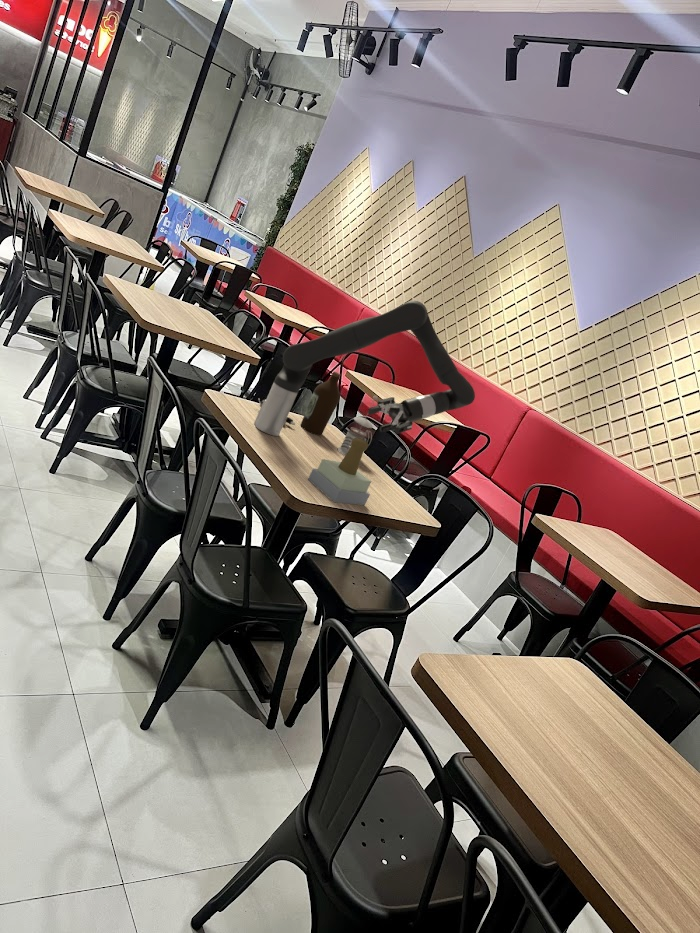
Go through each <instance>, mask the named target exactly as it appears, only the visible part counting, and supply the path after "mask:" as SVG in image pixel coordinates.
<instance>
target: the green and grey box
mask: <svg viewBox="0 0 700 933" xmlns="http://www.w3.org/2000/svg"><path fill="white" fill-rule="evenodd" d="M341 462H342V461H337V460H330V459H325V458H324V459H323V458H322V459H321V461H320V463H319V466H318V468H312V470H311V471H310V474H309V475H308V478H307V480H308V481H310V482H311V483H312V484H313V485H314V486H315V487H316V488H317V489H318V490H319V491H321V492H322V493H323V494H324V495H325V496H326V497H327V498H329V499H330V501H332V502H334V503H337V504H349V505H350V504H351V505H360V506H365V505H366V504H367V502H368V499H369V497H370V495H371V494H370V493H369V492H368V490H369V487H370V486H371V483H372V480H370V479H369V478H368V477H366V476H365V475H364V474H363V473H361V472H360V471H359V470H358V469H357V472H356V475H351V474H348V473H346V472H344V471H342V470H341V469H340V468H339V467H338V466H339V465H340V463H341Z"/></svg>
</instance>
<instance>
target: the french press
mask: <svg viewBox="0 0 700 933" xmlns="http://www.w3.org/2000/svg"><path fill="white" fill-rule="evenodd" d="M372 399H373V400H372V403H371V405H370V407H369V408H371V407H373V404H374V401H375V400H377V401H378V400H379V399H378V395H373V397H372ZM368 415H369V414H368V412H367V414H366V415H365V417H362V416H355V417H353V421H354V422H356V423H357V424H358V425H361V426H360V428H359V429H358V428H357V427H353V426H352V427H350V429H349V430H348V431H347V433H346V435H345V437H344V439H343V441H342V443H341V445H340V446H338V447H337V448H338V450H337V451H338V452H339V453H340V454H342V455H343V456H345V455H346V454H347V452H348V451H349V449H350V448H351V446H352V445H351V443H352V440H353V439H354V438H356V437H358V438H361V439H363V440H365V441H366V442H367V443H368V442H369V444H368V446H370V444H371V442H372V440H373V435H372V434H373V433H372V431H371V430H368V429H373V428H374V426H373V424H372V422H370V421H369V420H368V419H367V418H368ZM362 427H364V428H368V429H367V430H365V432H364V431H363V430H361V429H362ZM370 436H371V437H370ZM367 437H368V438H367ZM369 439H370V440H369Z"/></svg>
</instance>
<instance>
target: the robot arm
mask: <svg viewBox="0 0 700 933" xmlns="http://www.w3.org/2000/svg"><path fill="white" fill-rule="evenodd" d="M432 324H433V323H432V322H431V319H430V317H429V313H428V310H427V307H426V305H424V304H423V303H422V302H421V301H418V300H409V301H406V302H405V303H403V304H401V305H399V306H397V307H396V308H393V309H391V310H389V311H387V312H385V313H382V314H379V315H376V316H375V315H374V316H370V317H366V318H362V319H359V320H356V321H354V322H351V323H348V324H345V325H343V326H341V327H338V328H336V329H334V330H331V331H329V332H327V333H326V334H324V335H322V336H319V337H317V338H314V339H311V340H308V341H304V342H300V343H294V344H291V345H289V346H288V347H287V348H286V349H285V351H284V352H283V354H282V363H283V366H282V369H281V370H280V371H279V373H277V375H276V376H275V379H274V381H273V383H272V385H271V388H270V390H269V393H268V394H267V397H266V399H263V400H264V401H263V400H262V401H263V404H262V406H261V407H260V409H259V411H258V412H257V416H256V418H255V420H254V423H253V424H254V425H255V428H257V430H259V431H261V432H263V433H265V434H267V435H270V436H273V437H278V436H280V434H281V432H282V430H283V426H284V425H285V424H284V423H286V422H285V421H286V418H287V417H288V416H289V414H290V411H291V409H292V407H293V405H294V403H295V401H296V398H297V395H298V393H299V391H300V389H301V388H302V386H303V385H304V384H305V382H306V380H307V377H308V375H309V372H310V370H312V367H313V365H314V364H316V363H317V362H320V361H322V360H325V359H329V358H334V357H339V356H342V355H347V354H350V353H354V352H357V351H360V350H362V349H365V348H367V347H370V346H372V345H374V344H376V343H377V342H379V341H381V340H383V339H385V338H387V337H389V336H392V335H396V334H399V333H402V332H408V331H411V332H412V334H413V335H414V336H415V337H416V339H417V340H418V342H419V344H420V346H421V347H422V350H423V352H424V355H426V356H425V357H426V358H427V361H428V363H429V364H430V367H431V369H432V370H433V372H434V374H435V375H436V377H437V379H438V381H439V382H440V383H441V384H442V385H445V386H448V388H449V389H447V390H444V391H436V392H433V393H430V394H425V395H424V394H423V395H419V396H416V397H412V398H408V399H404V400H402V401H401V402H396V401H395V400H396V399H395V397H387V398H382V399H377V404H376V405H375V406H370V407H371V408H370V407H369V408H368V410H367V413H368V415H369V416H370V415H374V414H378V413H384V415H387V416H389V417H390V418H391V420H392V423H391V422H389V423H385V424H382V425H380V426H379V432H380V433H385V432H386V433H387V432H389V431H394V432H395V434H396V435H397V434H403V433H404V432H407V431H410V430H412V428H413V423H414V422H416V421H420V420H423V419H427V418H430V417H431V416H435V415H438V414H442V413H446V412H447V411H453V410H457V409H460V408H464V407H467V406H469V405H471V404H473V403H474V401H475V398H476V393H475V390H474V387H473V386H472V384H471V383H470V382H469V381H468V380H467V378H466V377H465V376H463V373H462V372H461V373H460V372H459V369H458V367H457V366H456V364H455V363H454V361H453V359H452V358H451V356H450V354H449V352H448V351H447V350H446V347H444V345H443V343H442V341H441V340H440V338H439V336H438V335H437V333H436V331H435V328H434V326H433V325H432Z"/></svg>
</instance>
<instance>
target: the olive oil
mask: <svg viewBox="0 0 700 933" xmlns="http://www.w3.org/2000/svg"><path fill="white" fill-rule="evenodd" d="M340 377H341V373H339V372H338V371H332V374H331V375H330V377H329V379H328V380H326V381H323V382H321V383H319V384H318V385H317V386H316V387H315V388H314V390H313V392H312V395H311V398H310V400H309V403H308V405H307V407H306V410H305V413H304V415H303V418H302V421H301V423H300V427H301V428H302V427H303V428H302V429H304V430H305V429H306V430H305V431H307V432H309V433H311V432H312V433H311V434H313V433H315V434H314V435H316V434H319V435H318V436H322V435H323V433H324V432H325V430H326V427H327V425H328V423H329V421H330V419H331V418H332V416H333V414H334V412H335V410H336V408H337V406H338V405H339V402H340V399H341V393H340V389H339V385H338V382H339V380H340ZM321 434H322V435H321Z"/></svg>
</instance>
